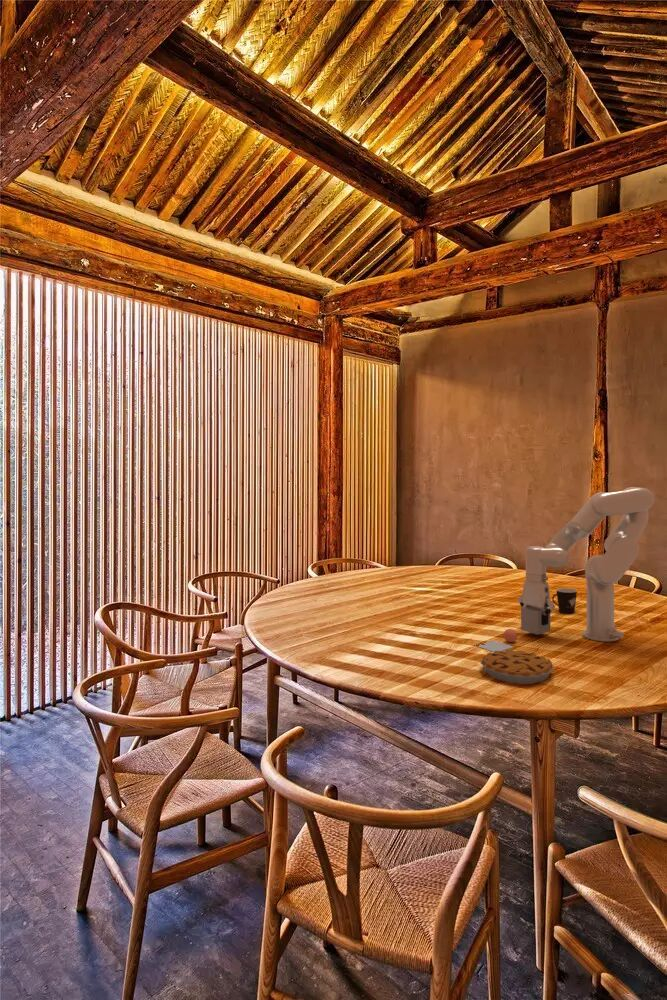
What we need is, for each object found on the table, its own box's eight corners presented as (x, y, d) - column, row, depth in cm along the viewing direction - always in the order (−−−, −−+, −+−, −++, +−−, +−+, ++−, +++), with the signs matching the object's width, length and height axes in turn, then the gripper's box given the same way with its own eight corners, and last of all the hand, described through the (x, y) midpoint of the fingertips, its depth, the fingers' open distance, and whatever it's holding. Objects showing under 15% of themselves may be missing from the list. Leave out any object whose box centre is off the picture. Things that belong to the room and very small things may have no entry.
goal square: (513, 647, 198) (513, 646, 198) (495, 652, 193) (495, 652, 193) (492, 640, 206) (492, 640, 206) (474, 645, 201) (474, 645, 201)
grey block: (550, 631, 211) (550, 608, 210) (537, 634, 207) (537, 611, 206) (533, 626, 217) (533, 605, 217) (521, 629, 213) (521, 607, 213)
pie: (567, 675, 171) (567, 659, 171) (525, 692, 158) (525, 676, 158) (509, 657, 189) (509, 643, 188) (467, 671, 176) (467, 656, 176)
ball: (520, 642, 203) (520, 629, 203) (511, 644, 201) (511, 631, 201) (509, 639, 208) (509, 626, 207) (500, 641, 205) (500, 628, 205)
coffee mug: (573, 609, 248) (573, 588, 248) (579, 614, 240) (579, 592, 239) (547, 609, 249) (547, 588, 249) (552, 614, 241) (552, 592, 240)
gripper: (561, 580, 205) (561, 625, 206) (523, 573, 220) (523, 615, 221) (548, 582, 202) (548, 629, 202) (511, 575, 216) (511, 618, 217)
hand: (535, 621), depth 212 cm, fingers closed on grey block, 7 cm apart
